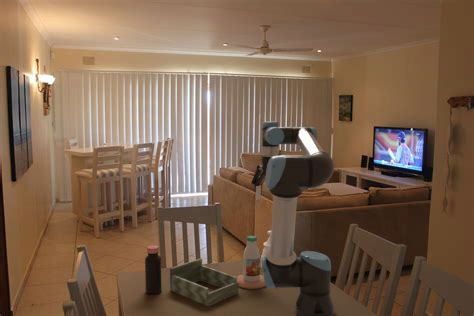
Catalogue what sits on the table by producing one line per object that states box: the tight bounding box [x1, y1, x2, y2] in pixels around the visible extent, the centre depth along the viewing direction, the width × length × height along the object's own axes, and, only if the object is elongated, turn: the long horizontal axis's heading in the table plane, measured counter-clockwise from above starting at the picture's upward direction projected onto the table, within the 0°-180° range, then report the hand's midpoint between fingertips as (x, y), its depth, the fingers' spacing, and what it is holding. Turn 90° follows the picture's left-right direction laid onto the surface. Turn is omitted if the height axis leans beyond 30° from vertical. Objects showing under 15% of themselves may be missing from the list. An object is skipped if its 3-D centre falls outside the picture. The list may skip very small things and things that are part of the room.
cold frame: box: [169, 257, 240, 307], centre depth 197 cm, size 24×18×10 cm
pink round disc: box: [236, 273, 266, 290], centre depth 208 cm, size 15×15×2 cm
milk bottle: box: [242, 235, 261, 282], centre depth 207 cm, size 8×8×20 cm
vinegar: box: [144, 244, 162, 295], centre depth 196 cm, size 7×7×20 cm
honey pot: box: [260, 230, 271, 269], centre depth 229 cm, size 13×13×18 cm
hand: (269, 201), depth 209 cm, fingers open, 13 cm apart
